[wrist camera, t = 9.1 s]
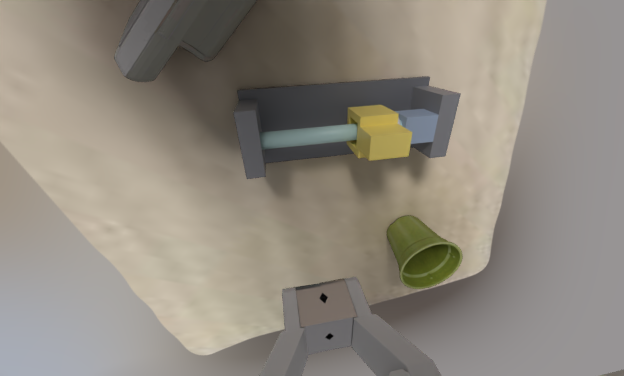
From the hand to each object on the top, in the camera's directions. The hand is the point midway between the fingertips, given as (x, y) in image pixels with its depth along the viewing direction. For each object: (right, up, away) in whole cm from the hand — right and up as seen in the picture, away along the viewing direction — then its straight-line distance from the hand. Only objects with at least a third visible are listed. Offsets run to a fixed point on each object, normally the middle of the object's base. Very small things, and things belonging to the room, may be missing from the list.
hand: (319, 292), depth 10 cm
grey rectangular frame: (+3, +13, +22) cm, 25 cm away
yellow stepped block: (+6, +12, +20) cm, 24 cm away
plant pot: (+16, -3, +33) cm, 37 cm away
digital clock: (-11, +23, +13) cm, 29 cm away
